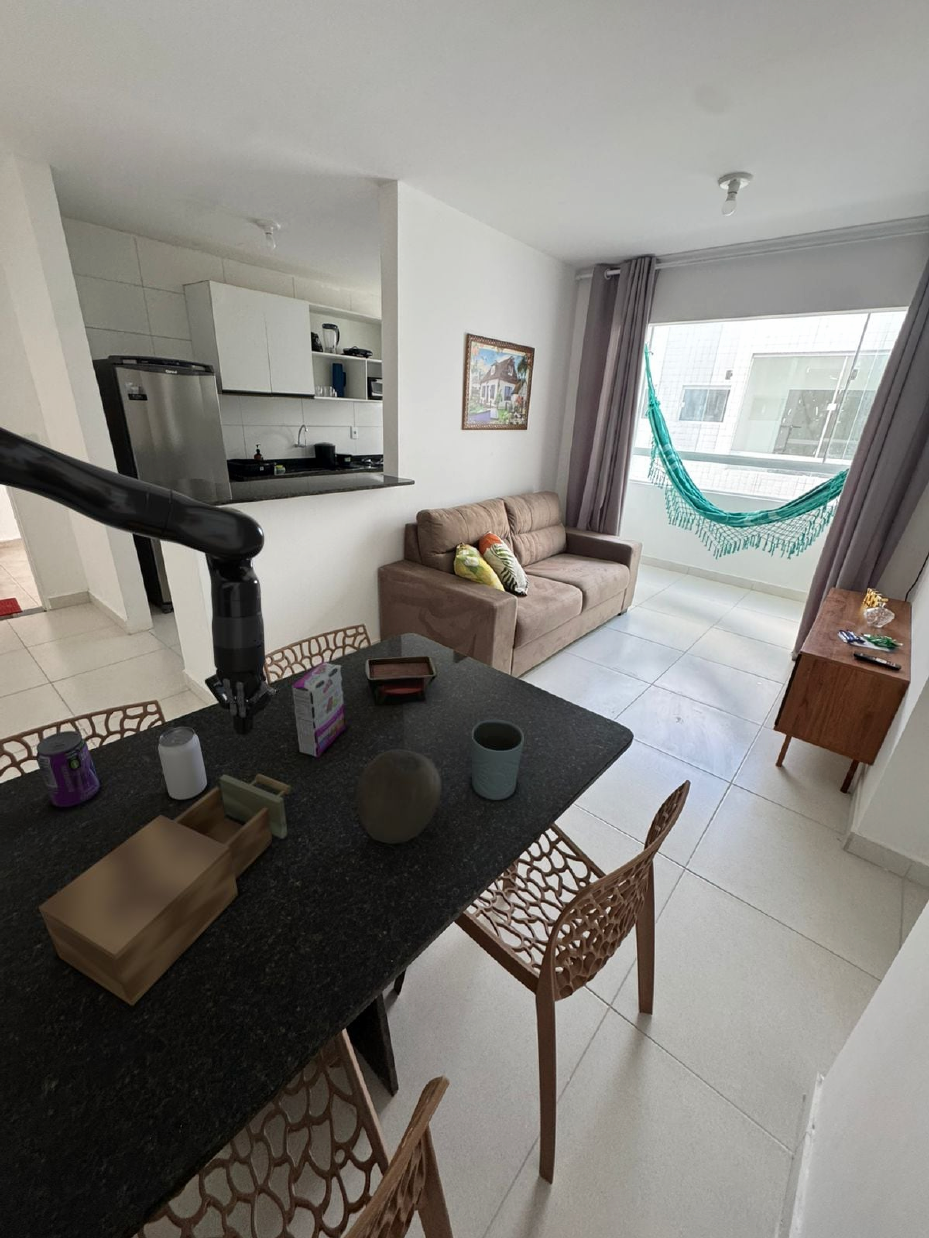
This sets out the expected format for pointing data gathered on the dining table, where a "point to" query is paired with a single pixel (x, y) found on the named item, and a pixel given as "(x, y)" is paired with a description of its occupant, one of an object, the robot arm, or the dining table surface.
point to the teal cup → (495, 758)
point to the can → (182, 763)
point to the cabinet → (141, 906)
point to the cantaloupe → (398, 795)
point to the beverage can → (67, 768)
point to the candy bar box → (319, 708)
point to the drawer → (240, 817)
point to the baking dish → (400, 678)
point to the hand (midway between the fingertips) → (244, 732)
